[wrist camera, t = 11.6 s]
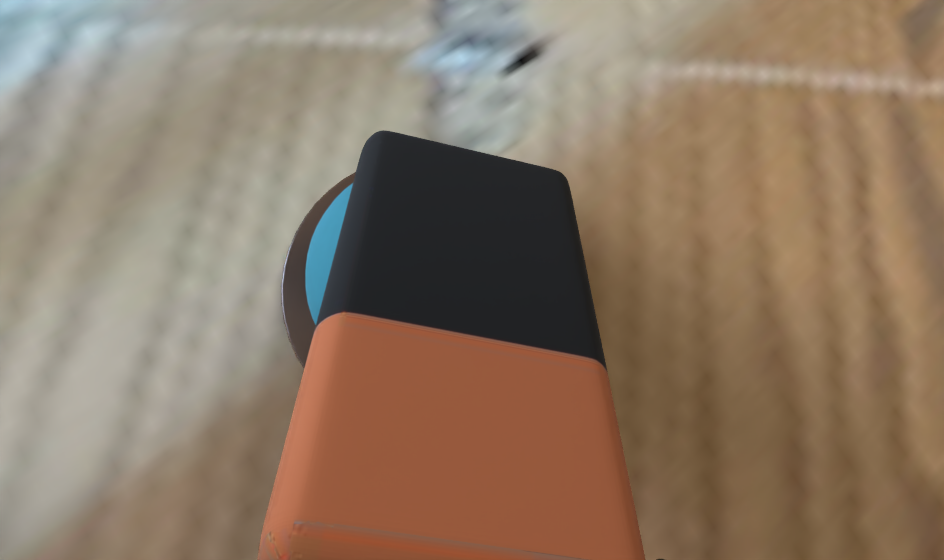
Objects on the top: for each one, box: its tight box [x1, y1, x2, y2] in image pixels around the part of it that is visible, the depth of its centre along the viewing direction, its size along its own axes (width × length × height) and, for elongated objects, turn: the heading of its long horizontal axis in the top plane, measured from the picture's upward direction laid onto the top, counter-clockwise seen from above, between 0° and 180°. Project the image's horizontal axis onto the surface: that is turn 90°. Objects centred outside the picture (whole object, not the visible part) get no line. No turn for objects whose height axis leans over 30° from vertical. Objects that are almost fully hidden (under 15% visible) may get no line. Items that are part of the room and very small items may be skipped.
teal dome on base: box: [281, 172, 356, 368], centre depth 21 cm, size 9×9×7 cm
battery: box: [257, 131, 645, 560], centre depth 12 cm, size 4×7×10 cm
